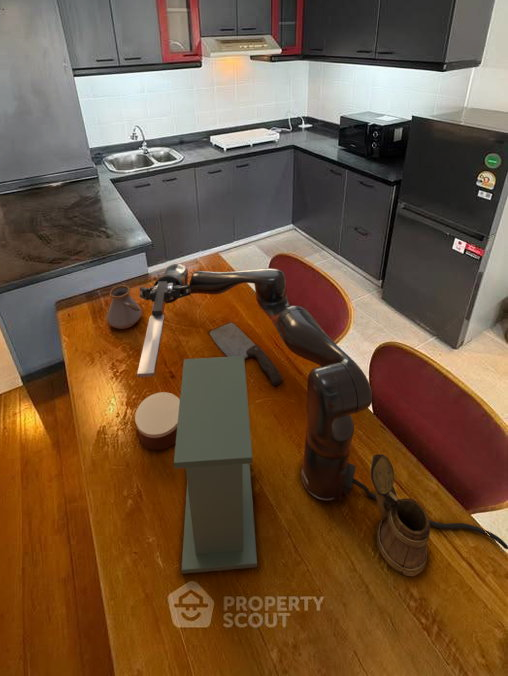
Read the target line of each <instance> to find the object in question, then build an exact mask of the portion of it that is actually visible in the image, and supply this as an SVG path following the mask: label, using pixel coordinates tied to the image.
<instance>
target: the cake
mask: <svg viewBox="0 0 508 676" xmlns="http://www.w3.org/2000/svg"><path fill="white" fill-rule="evenodd" d="M179 404H180V397H178V396H177V395H175V394H173V393H171V392H168V391H167V392H166V391H161V392H155V393H153V394H150V395H148V396H147V397H146V398H144V399H143V400H142V401H141V402H140V404H139V405H138V407H137V408H136V411H135V414H134V415H135V416H134V421H135V425H136V428H137V432H138V437H139V440H140V443H141V444H142V445H143V446H144V447H145V448H146V449H149V450H151V451H162V450H166V449H169V448H170V447H172V446H173V445H174V444H176V434H177V424H178V414H179Z"/></svg>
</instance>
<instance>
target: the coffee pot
mask: <svg viewBox="0 0 508 676" xmlns="http://www.w3.org/2000/svg"><path fill="white" fill-rule="evenodd" d="M130 293H131V288H130V287H129V286H128V285H125V284H119V285H116V286H114V287H113V288H111V290H110V291H109V297H110V298H111V302H110V303H109V304H110V305H109V308H108V311H107V314H106V321H107V323H108V324H109V326H111V327H112V328H115V329H120V330H124V329H128V328H131V327H133V326H134V325H135V324H136V323H137V322H139V320H140V318H141V317H142V315H143V314H144V311H143V310H142V309H141V306H140V305H139V304H138V303H137V302H136V301H135V299H134V298H133V297H132V296H131V295H130Z"/></svg>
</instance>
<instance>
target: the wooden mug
mask: <svg viewBox="0 0 508 676" xmlns="http://www.w3.org/2000/svg"><path fill="white" fill-rule="evenodd" d="M370 479H371V482H372V484H373V487H374V489H375V495H376V500H377V501H376V500H375V501H376V503H377V507H378V509H379V512H380V515H381V521H380V523H378V526H377V531H376V543H377V548H378V551H379V552H380V554H381V556H382V558H383V560H384V561H385V562H386V563H387V564H388V565H389V566H390V567H391V568H392V569H393V570H395V571H397V573H400V574H401V575H404V576H406V577H416V576H418V575H419V574H420V573H422V572H423V571H424V569H425V567H426V564H427V559H428V550H427V548H428V541H429V539H430V536H431V535H430V534H431V526H430V524H429V520H430V519H429V515H428V513H427V511H426V509H425V508H424V507H423V506H422V505H421V504H420V503H419V502H418V501H416V499H413V498H410V497H409V498H408V497H407V498H406V497H403V498H399V497H398V495H397V492H396V490H395V487H394V483H395V470H394V467H393V464H392V462H391V461H390V459H389V458H388V456H387V455H385V454H381V453H380V454H373V456H372V459H371V464H370ZM384 501H386V503H387V505H386V504H385V502H384Z"/></svg>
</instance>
